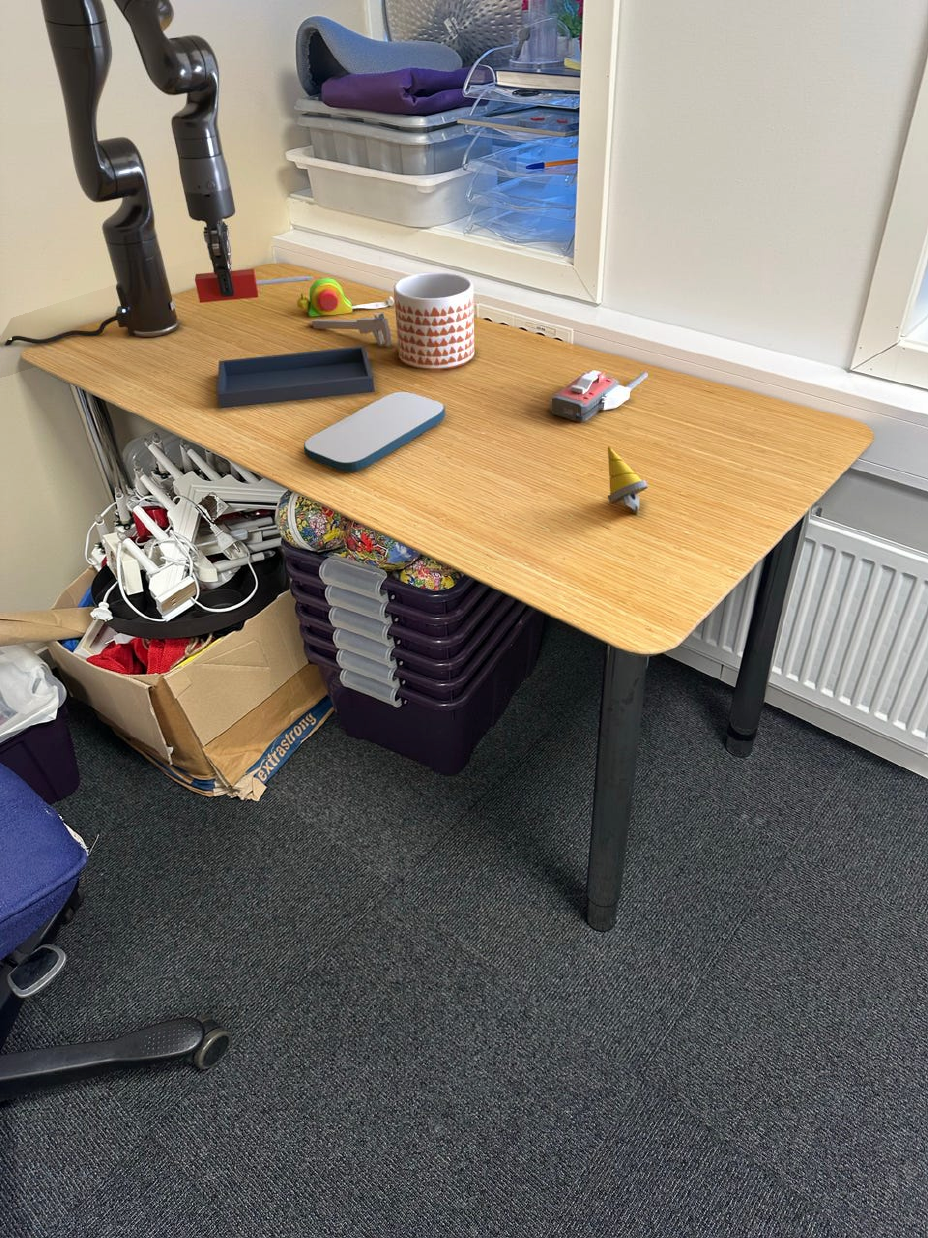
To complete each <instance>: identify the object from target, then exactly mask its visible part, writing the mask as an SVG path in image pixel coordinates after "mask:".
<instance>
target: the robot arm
mask: <svg viewBox="0 0 928 1238" xmlns="http://www.w3.org/2000/svg"><path fill="white" fill-rule="evenodd" d="M113 2H114V3H115V5H116V7H117V8H118V10H119V11H120V13H121V15H122V16H123V18H124V20H125V21H126V22H127V24H128V25H129V27H130V31H131V33H132V36H133V39H134V41H135V44H136V47H137V49H138V53H139V55H140V58H141V61H142V64H143V67H144V70H145V73H146V75H147V77H148V78H149V80H150V81H151V83H152V84H153V85H154V86H155V87H156V88H157V90H159V91H160V92H161V93H164V94H165V95H168V96H180V95H184V94H186V99H185V104H184V107H183V108H182V109H180V110H178V111H177V112H176V113H175V114H173V115H172V116H171V120H170V123H171V132H172V135H173V140H174V145H175V150H176V155H177V159H178V170H179V175H180V180H181V185H182V188H183V189H182V190H183V192H184V193H183V194H184V197H185V204H186V207H187V212H188V216H189V218H190V219H191V220H193V221H197V222H200V221H201V222H204V223H205V226H203V231H202V232H203V239H204V242H205V243H206V249H207V251H208V257H209V260H210V261H211V264H212V268H213V269H212V270H213V272H214V273H215V275H217V277H218V282H219V287H220V291H221V295H222V296H223V297H230V296H233V295H234V289H233V284H232V279H231V271H233V270H232V263H233V262H232V260H231V259H232V246H231V241H230V229H229V225H228V224H226V222H225V221H223V220H227V219H229V218H232V217H233V216H234V215H235V213H236V206H235V201H234V197H233V196H234V195H233V191H232V185H231V179H230V175H229V169H228V164H227V162H226V159H225V156H224V152H223V146H222V140H221V134H220V130H219V125H218V124H219V123H218V117H219V97H220V67H219V63H218V60H217V56H216V54H215V52H214V50H213V48H212V47H211V44H210V43H209V42H208V41H207V40H206V39H204V38H203V37H202V36H200V35H197V34H196V35H195V34H189V35H183V36H176V37H168V36H167V35H166V33H165V31H166V30H167V29H169V27H170V26H171V24H172V23H173V21H174V17H175V11H174V7H173V5H172V3H171V1H170V0H113ZM40 4H41V10H42V14H43V20H44V24H45V28H46V33H47V37H48V42H49V45H50V49H51V53H52V57H53V60H54V64H55V68H56V73H57V77H58V80H59V86H60V89H61V94H62V98H63V103H64V109H65V110H64V111H65V115H66V122H67V130H68V135H69V140H70V141H69V142H70V150H71V155H72V161H73V165H74V170H75V173H76V178H77V180H78V183H79V185H80V188H81V191H83V193H84V195H85V196H86V197H87V198H88V199H89V200H90V201H92V202H94V203H105V202H111V201H114V200H119V199H121V202H120V205H119V207H118V208H117V209H116V211H115V212H114V213H112V215H110V216H109V217H107V218H106V219H105V220H104V222H103V223H102V225H101V230H102V235H103V238H104V241H105V244H106V247H107V252H108V255H109V259H110V262H111V266H112V270H113V273H114V277H115V281H116V285H115V290H116V293H117V298H118V300H119V304H120V305H117V308H116V311H115V315H113V316H111V317H108V318H107V319H105V320H103V321H102V322H101V323H100V324H99V327H98V328H97V329H96V330H81V329H77V330H76V329H75V330H68V331H65V332H62V333H59V334H56V335H54V336H51V337H48V338H39V339H37V338H32V337H27V336H24V335H13V336H11V337H12V340H8V339H7V340H6V341H5V343H4V346H5V347H6V346H10V345H12V343H15V342H16V341H21V342H25V343H29V344H36V345H44V344H45V345H46V344H49V343H53V342H57V341H60V340H62V339H64V338H67V337H71V336H88V337H93V336H98V335H101V334H102V333H103V332H104V330H105V328H106V327H107V326H108V325H109V324H111V323H114V322H117V324H118V327H119V328H126V329H127V333H128V336H129V337H141V338H153V337H160V336H164V335H167V334H170V333H173V332H174V331H176V330H177V329H178V328H179V327H180V323H179V319H178V315H177V312H176V309H175V307H176V303H175V299H174V298H173V295H172V291H171V287H170V283H169V278H168V275H167V271H166V267H165V263H164V259H163V254H162V250H161V245H160V242H159V238H158V233H157V230H156V223H155V222H156V220H155V218H156V217H155V211H154V207H153V202H152V197H151V192H150V187H149V180H148V175H147V170H146V167H145V164H144V159H143V157H142V154H141V153H140V150H139V148H138V147H137V145H136V143H134V142H133V141H132V140H131V139H130V138H128V137H125V136H119V137H118V136H117V137H112V138H106V139H101V140H98V126H97V125H98V124H97V123H98V122H97V119H98V118H97V116H98V110H99V104H100V101H101V98H102V95H103V92H104V89H105V87H106V86H105V85H106V82H107V80H108V77H109V73H110V70H111V66H112V60H113V47H112V41H111V35H110V34H111V33H110V30H109V23H108V19H107V14H106V13H107V12H106V9H105V6H104V3H103V0H40Z"/></svg>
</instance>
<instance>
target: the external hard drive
mask: <svg viewBox="0 0 928 1238" xmlns="http://www.w3.org/2000/svg"><path fill="white" fill-rule="evenodd" d="M445 417H446V408H445V405H444V404H443V403H442V402H440V401H438V400H435V399H432V398H429V397H426V396H423V395H420V394H417V393H415V392H410V391H396V392H392V393H389V394H387V395H384V396H382V397H381V398H379V399H377V400H374V401H373V402H371V403H370V404H368V405H366V406H365V407H362V408H360V409H358V410H357V411H355V412H353V413H351V414H350V415H348V416H346V417H344V418H342V419H341V420H338V421H337V422H335V423H333V424H331V425H330V426H328V427H325V428H324V429H322V430H320V431H317V433H315V434H313V435H312V436H309V438H307V439H306V440H305V442H304V444H303V451H304V455H305V456H306V458H307V459H309V460H310V461H312V462H315V463H317V464H320V465H322V466H324V467H327V468H329V469H332V470H334V471H337V472H340V473H354V472H358V471H361V470H364V469H365V468H367V467H370V466H372V465H373V464H375V463H376V462H378V461H379V460H381V459H383V458H384V457H386V456H387V455H389V454H391V453H392V452H394V451H396V450H397V449H399V448H401V447H402V446H404V445H406V444H407V443H410V441H413V440H414V439H416V438H417V437H419V436H421V435H422V434H424V433H426V432H427V431H429V430H430V429H432V428H435V426H437V425H438V424H440V423H441V422H442V421H443V420H444V419H445Z"/></svg>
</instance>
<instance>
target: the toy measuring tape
mask: <svg viewBox="0 0 928 1238" xmlns="http://www.w3.org/2000/svg"><path fill="white" fill-rule="evenodd" d="M296 303H297V305H296V306H298V308H299V309H300V310H303V311H304V310H307V314H308V316H309V317H312V318H313V317H321V316H337V315H345V314H352V313H353V310H355V309H356V310H357V309H366V310H367V309H369V310H376V309H377V310H378V309H382V308H388V307H389V306H390V307H393V306H395V299H394V297H392V295H391V296H390V295H389V296H387V298H386V301H379V302H371V303H364V304H357V305H352V303H351V301H350V300H349V299H348V298H346V296H345V293H344V291H343V289H342V286H341V285H340V284H339V282H338V281H336V279H333V278H331V277H321V278H319V279H317V280H315V281H314V282H313V283H312V285H311V286H310V289H309V298H308V297H306V294H305V292H301V294H300V297H298V298H297V300H296Z"/></svg>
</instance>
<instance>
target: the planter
mask: <svg viewBox="0 0 928 1238" xmlns="http://www.w3.org/2000/svg"><path fill="white" fill-rule="evenodd" d="M393 300H394V309H395V311H394V312H395V323H396V335H397V348H398V358H399V359H400V361H401V362H402V363H403V364H405V365H406V366H409V367H411V368H415V369H419V370H425V371H426V370H427V371H428V370H429V371H439V370H440V371H446V370H451V369H455V368H459V367H461V366H463V365H466V364H468V363H469V362H470V361H471V360H472V359H473V358H474V356H475V320H474V319H475V318H474V316H475V315H474V313H475V312H474V311H475V310H474V284H473V282H472V281H471V280H470V279H469V278H468V277H466V276H463V275H460V274H456V273H451V272H444V271H443V272H441V271H434V272H433V271H431V272H430V271H429V272H419V273H415V274H411V275H408V276H405V277H403V278H400V279H399V280H398V281H397V282H395V284H394V285H393Z"/></svg>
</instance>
